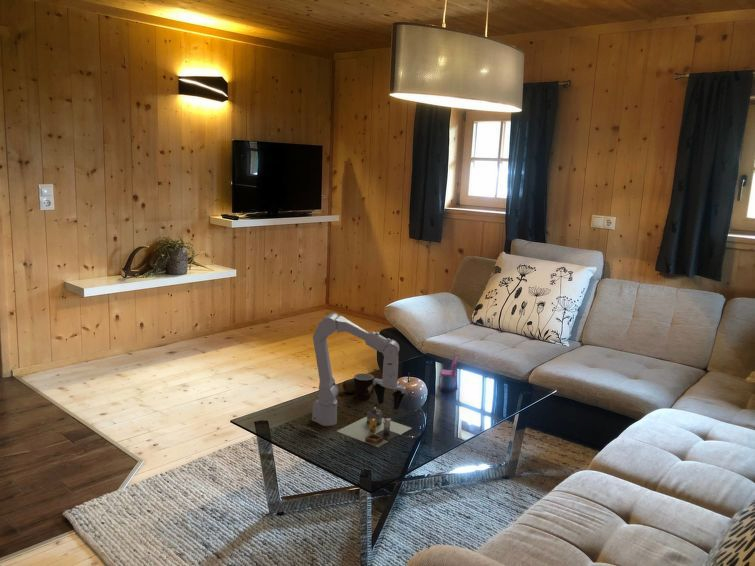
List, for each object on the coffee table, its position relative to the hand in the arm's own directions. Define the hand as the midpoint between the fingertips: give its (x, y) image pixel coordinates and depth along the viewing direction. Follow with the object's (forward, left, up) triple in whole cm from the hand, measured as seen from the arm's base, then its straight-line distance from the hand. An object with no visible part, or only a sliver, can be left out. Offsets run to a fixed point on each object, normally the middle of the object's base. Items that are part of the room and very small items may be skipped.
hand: (388, 406), depth 237 cm
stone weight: (-34, +25, -10) cm, 43 cm away
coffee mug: (-27, +21, -10) cm, 35 cm away
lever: (-3, -5, -8) cm, 10 cm away
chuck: (-7, +1, -9) cm, 11 cm away
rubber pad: (+4, -5, -9) cm, 11 cm away
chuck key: (+4, -6, -9) cm, 11 cm away
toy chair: (-7, +58, -10) cm, 59 cm away
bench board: (-3, -4, -10) cm, 11 cm away
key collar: (+3, -12, -9) cm, 16 cm away
